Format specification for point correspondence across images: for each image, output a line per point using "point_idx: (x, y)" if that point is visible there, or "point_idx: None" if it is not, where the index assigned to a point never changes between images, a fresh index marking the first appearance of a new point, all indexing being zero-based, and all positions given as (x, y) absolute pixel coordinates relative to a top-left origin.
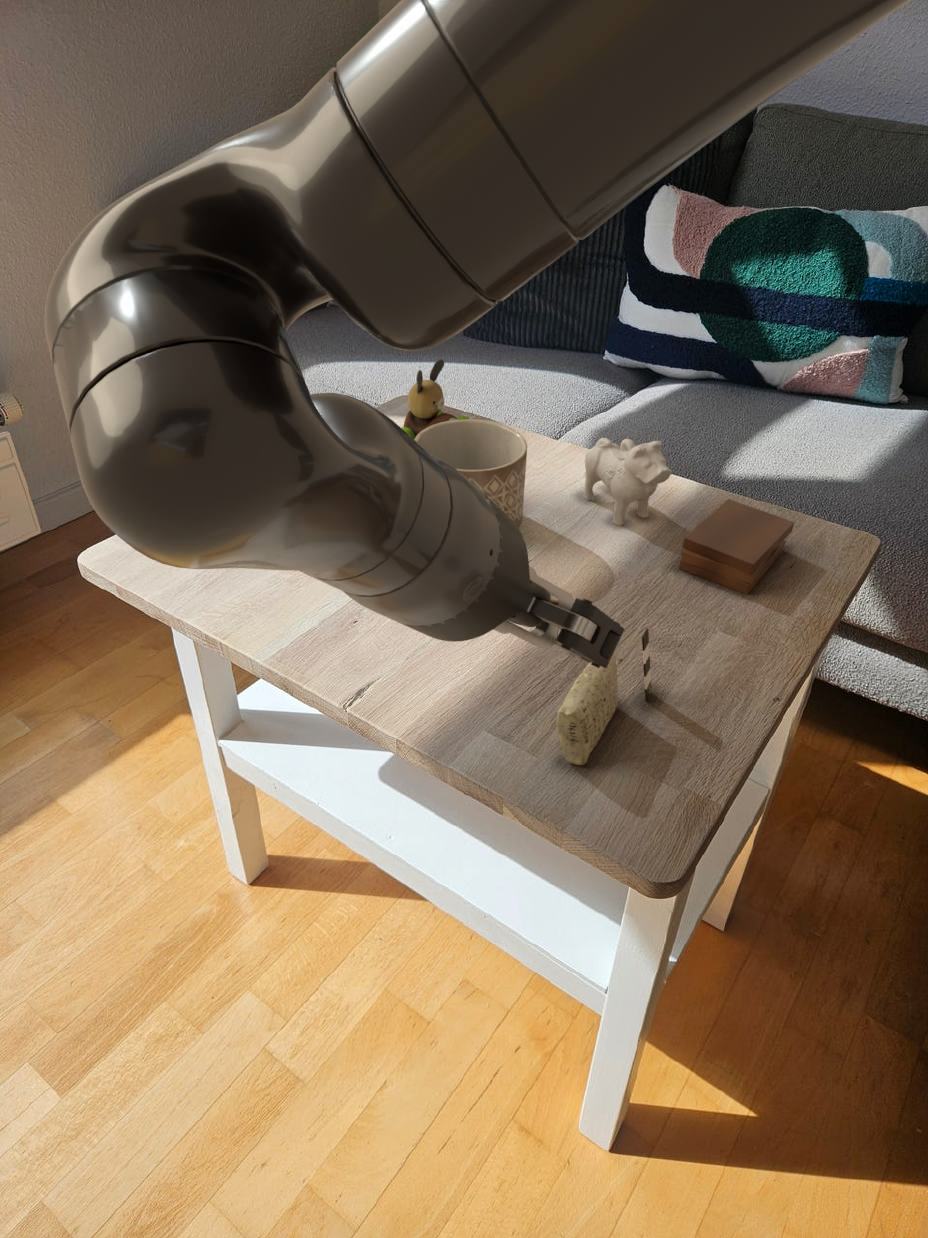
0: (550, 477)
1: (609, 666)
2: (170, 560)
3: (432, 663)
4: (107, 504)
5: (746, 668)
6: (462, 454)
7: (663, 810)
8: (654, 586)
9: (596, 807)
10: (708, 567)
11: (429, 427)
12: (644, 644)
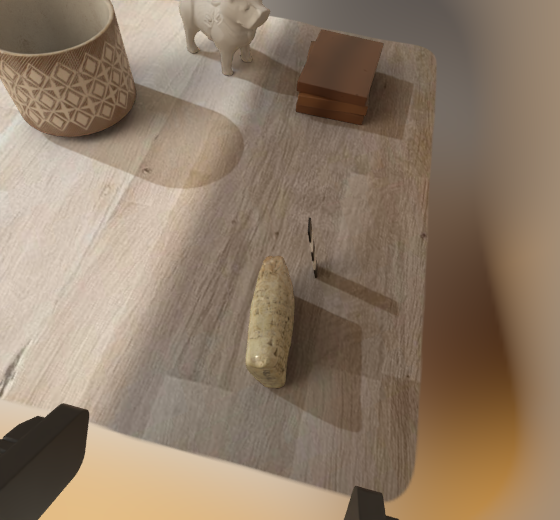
0: (151, 34)
1: (283, 277)
2: None
3: (86, 299)
4: None
5: (387, 208)
6: (47, 28)
7: (373, 412)
8: (281, 136)
9: (310, 436)
10: (324, 106)
11: None
12: (310, 237)
